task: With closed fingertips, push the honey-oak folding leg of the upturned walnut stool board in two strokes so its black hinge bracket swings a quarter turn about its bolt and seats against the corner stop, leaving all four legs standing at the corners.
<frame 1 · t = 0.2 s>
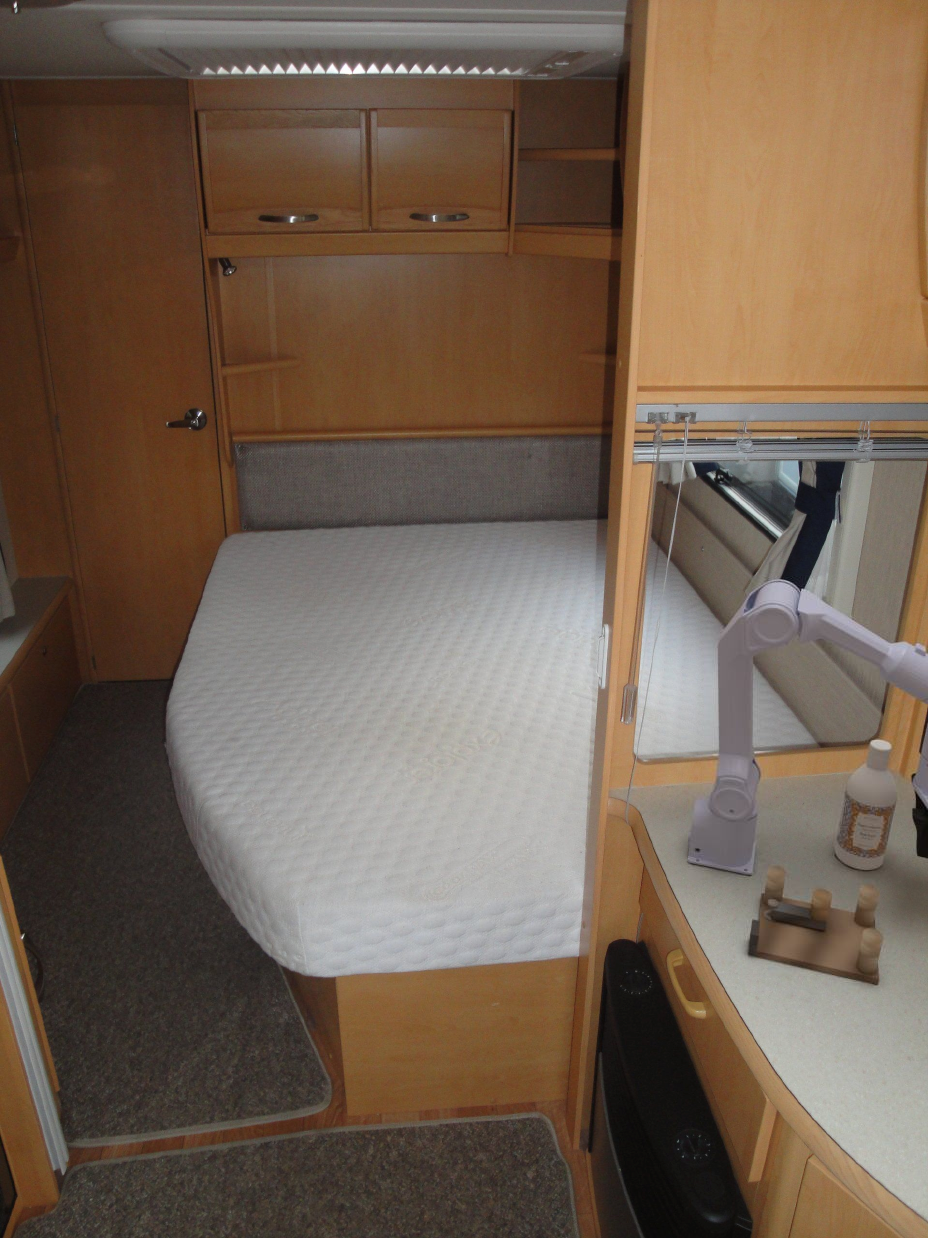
hand: (924, 840, 129), 10 cm above the table, fingers open, 7 cm apart
bath foam: (858, 858, 142), on the table
folding leg: (798, 905, 126), point 4 cm above the table, hinge at 0.0°
stool board: (815, 939, 126), on the table
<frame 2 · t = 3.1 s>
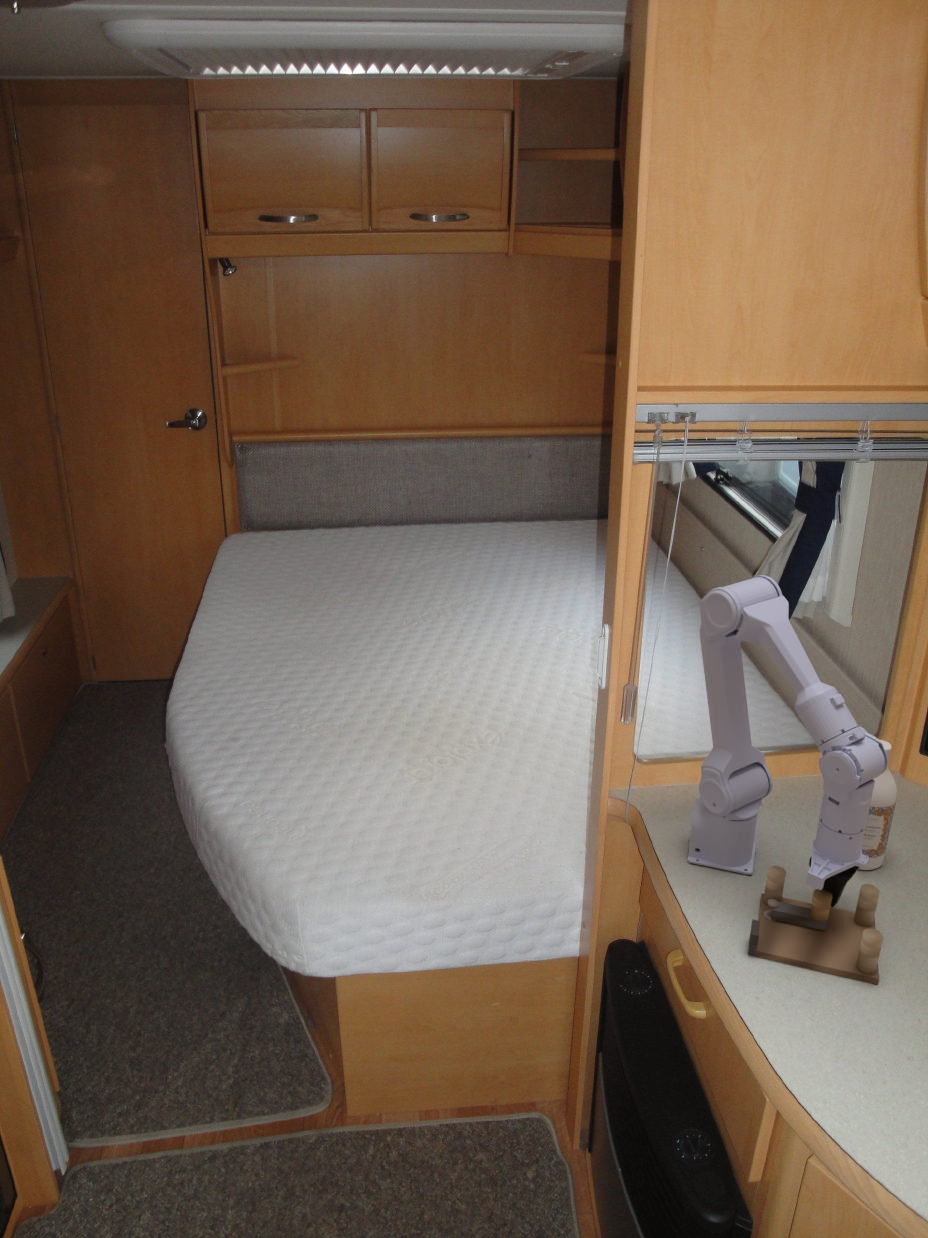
hand: (827, 903, 127), 3 cm above the table, fingers closed, pressing on folding leg
folding leg: (798, 905, 126), point 4 cm above the table, hinge at 0.1°, touching gripper
everything else where it was.
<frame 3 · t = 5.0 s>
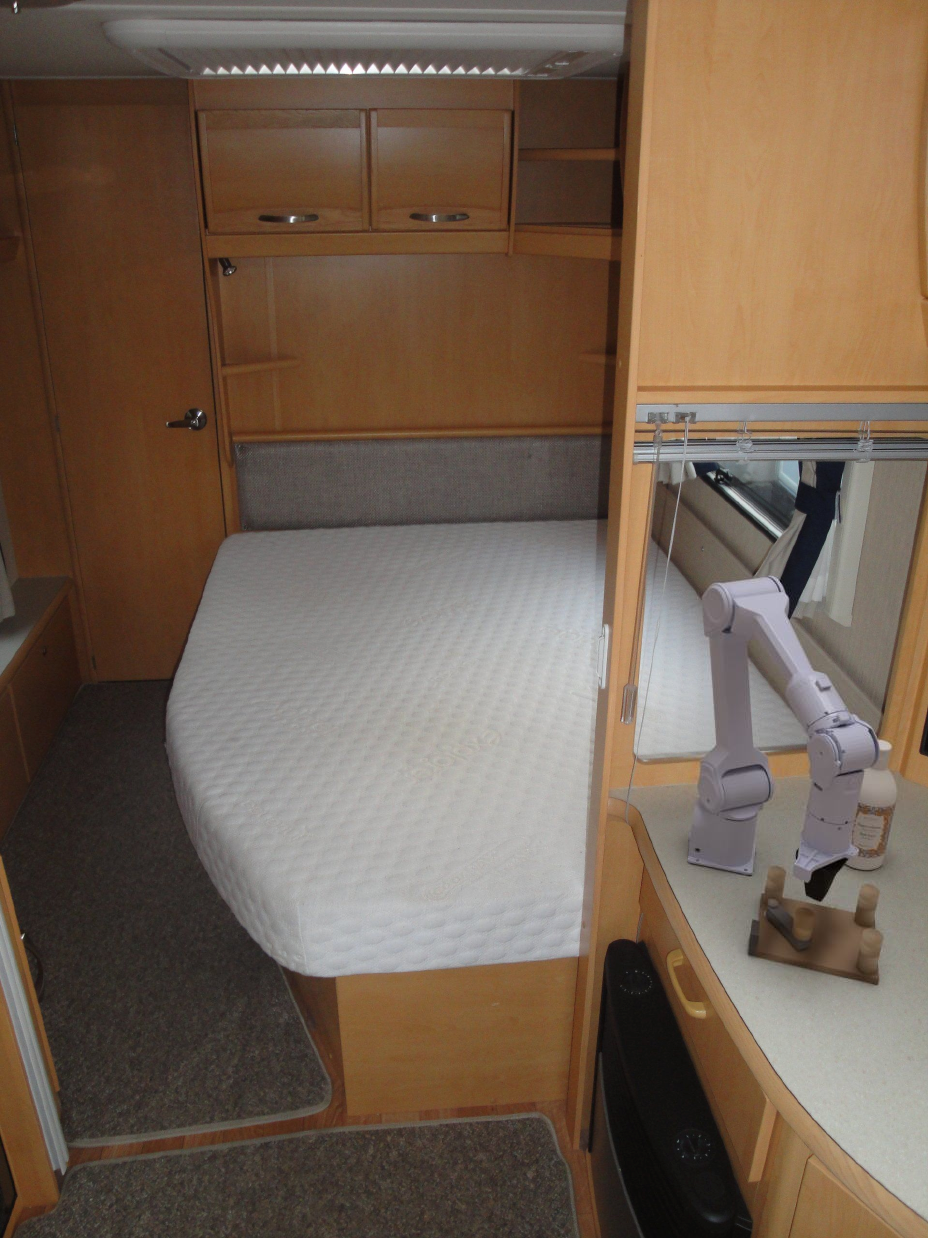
hand: (815, 896, 122), 8 cm above the table, fingers closed
folding leg: (788, 915, 125), point 4 cm above the table, hinge at 50.6°
everything else where it was.
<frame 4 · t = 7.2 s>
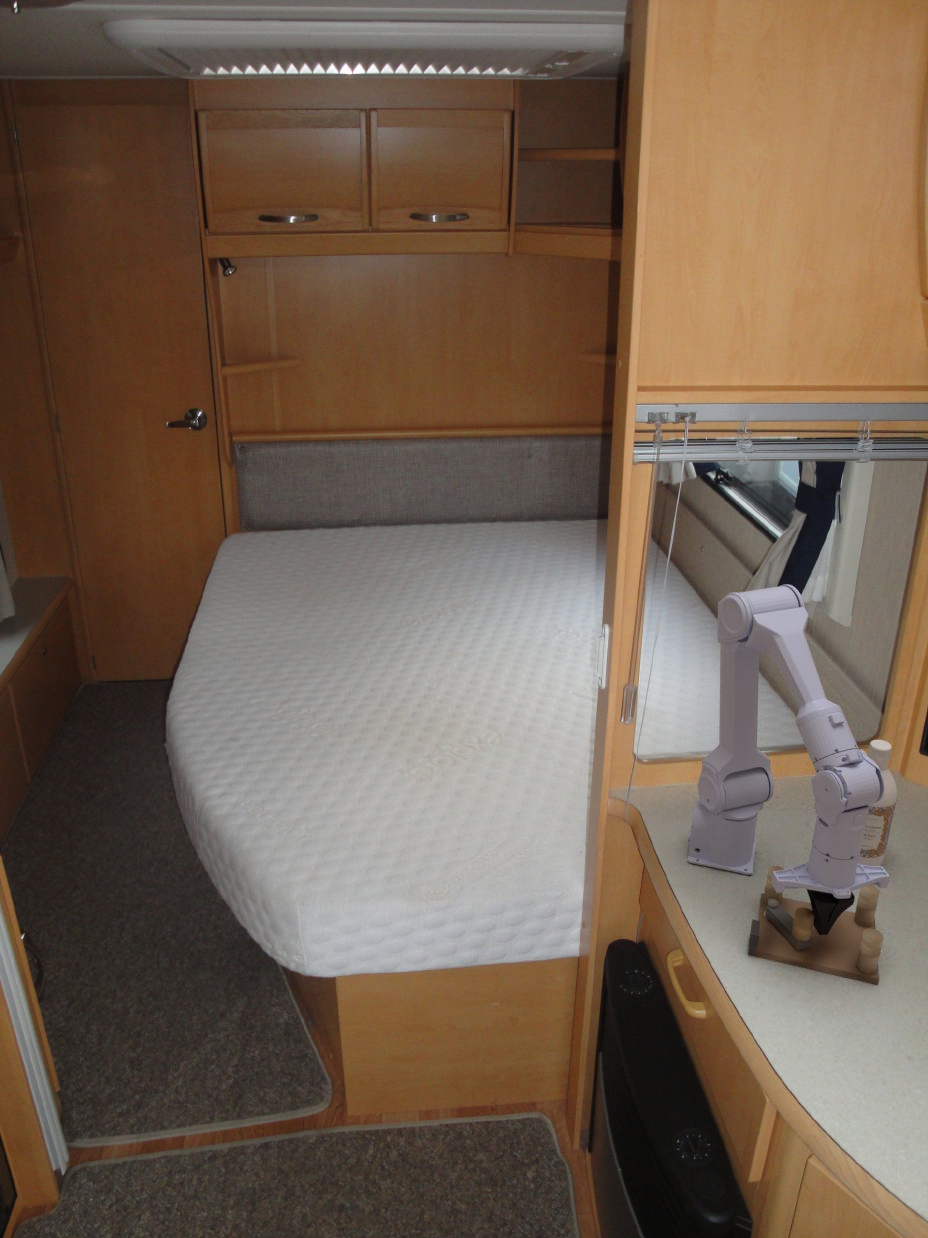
hand: (820, 929, 123), 3 cm above the table, fingers closed, pressing on folding leg
folding leg: (788, 915, 125), point 4 cm above the table, hinge at 50.9°, touching gripper
everything else where it was.
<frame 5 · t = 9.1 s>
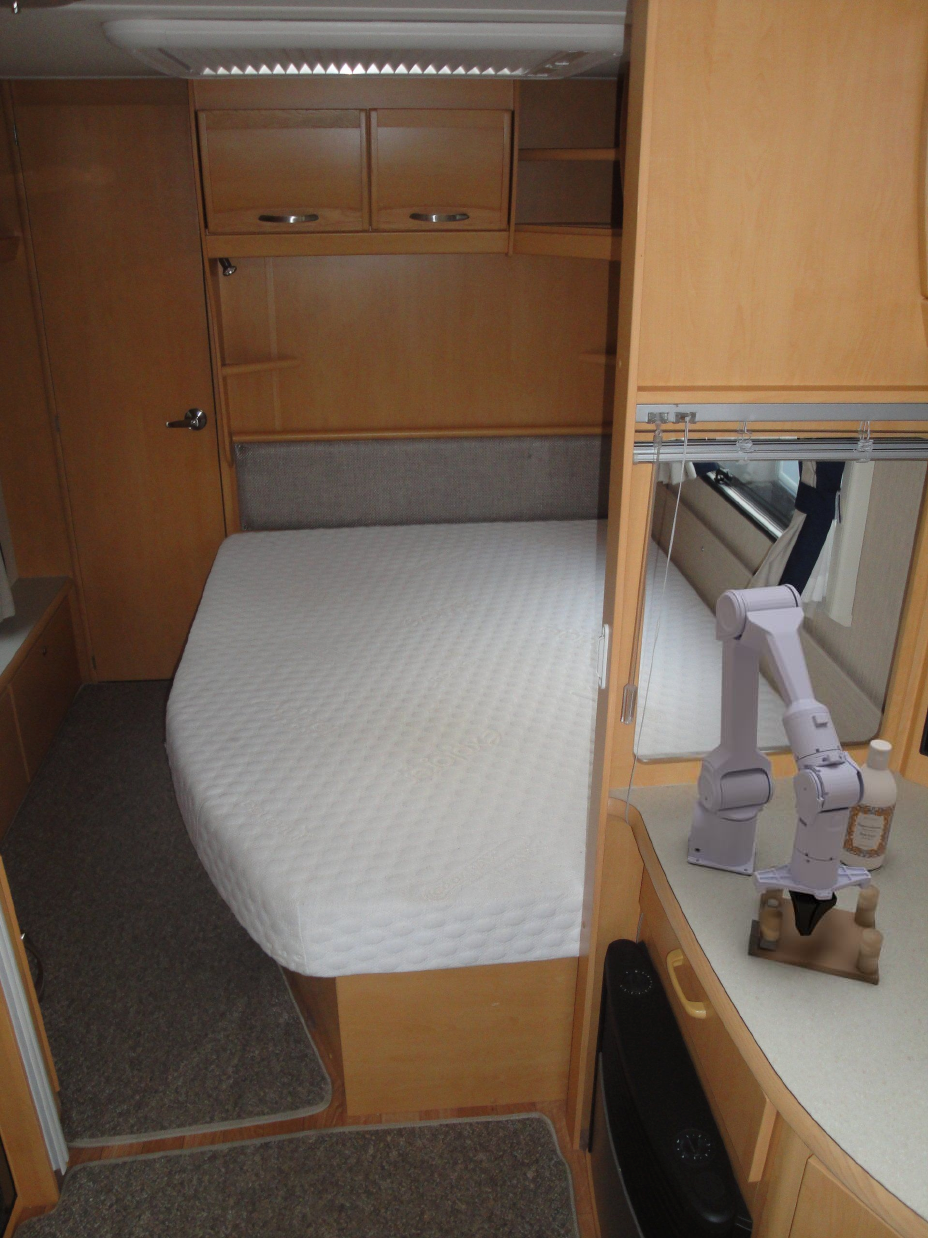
hand: (802, 930, 123), 3 cm above the table, fingers closed
folding leg: (772, 915, 125), point 4 cm above the table, hinge at 91.2°
everything else where it was.
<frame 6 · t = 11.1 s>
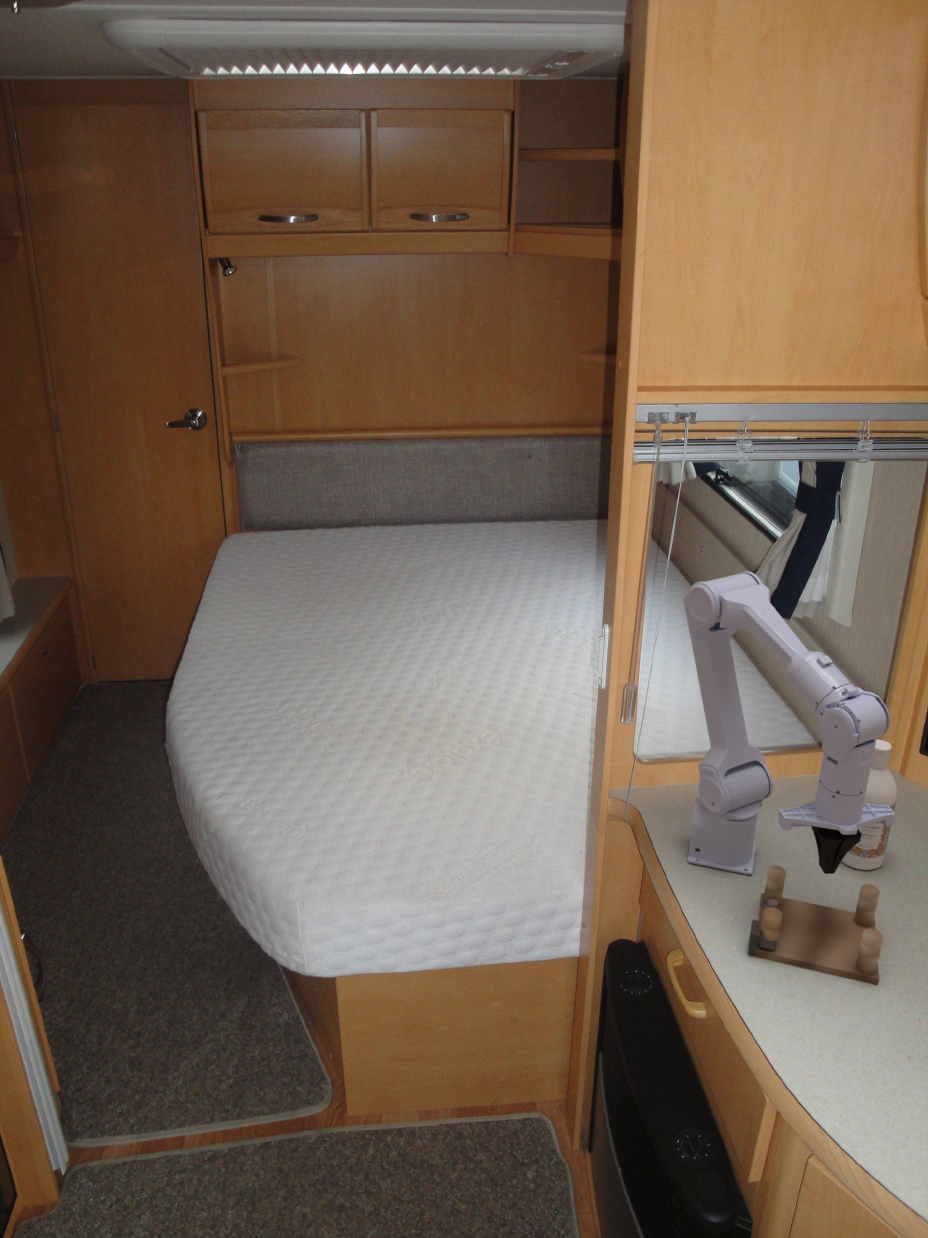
hand: (826, 869, 124), 10 cm above the table, fingers closed
nothing on the table moved.
at the end: folding leg at +91° (first picture: +0°) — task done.
